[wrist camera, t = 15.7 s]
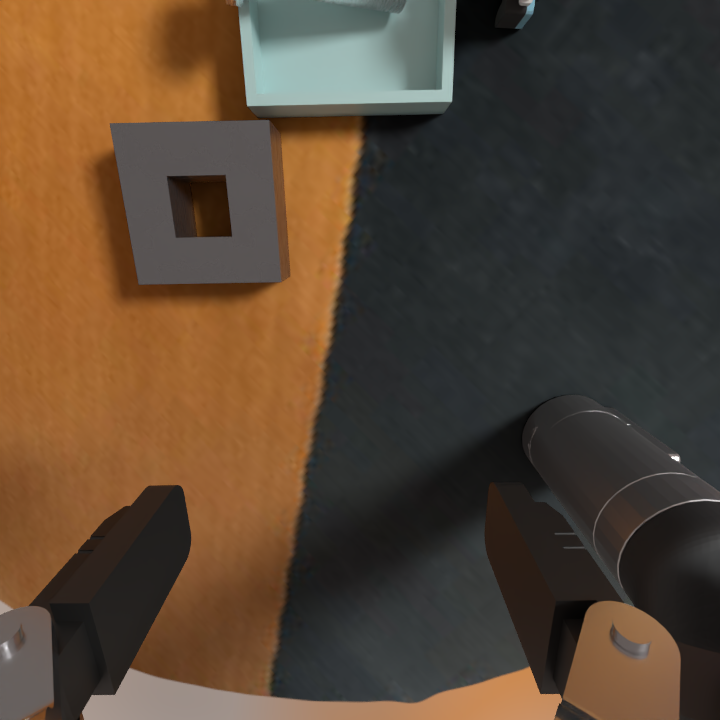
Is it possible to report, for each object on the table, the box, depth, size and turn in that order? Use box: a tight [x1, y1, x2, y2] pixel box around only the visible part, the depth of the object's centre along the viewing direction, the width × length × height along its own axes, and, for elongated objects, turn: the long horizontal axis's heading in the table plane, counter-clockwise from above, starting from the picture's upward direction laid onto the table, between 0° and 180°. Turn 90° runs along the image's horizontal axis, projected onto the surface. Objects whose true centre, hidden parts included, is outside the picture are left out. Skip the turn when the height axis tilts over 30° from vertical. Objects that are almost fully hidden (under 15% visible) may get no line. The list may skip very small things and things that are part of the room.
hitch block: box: [110, 120, 290, 285], centre depth 35 cm, size 12×12×4 cm
